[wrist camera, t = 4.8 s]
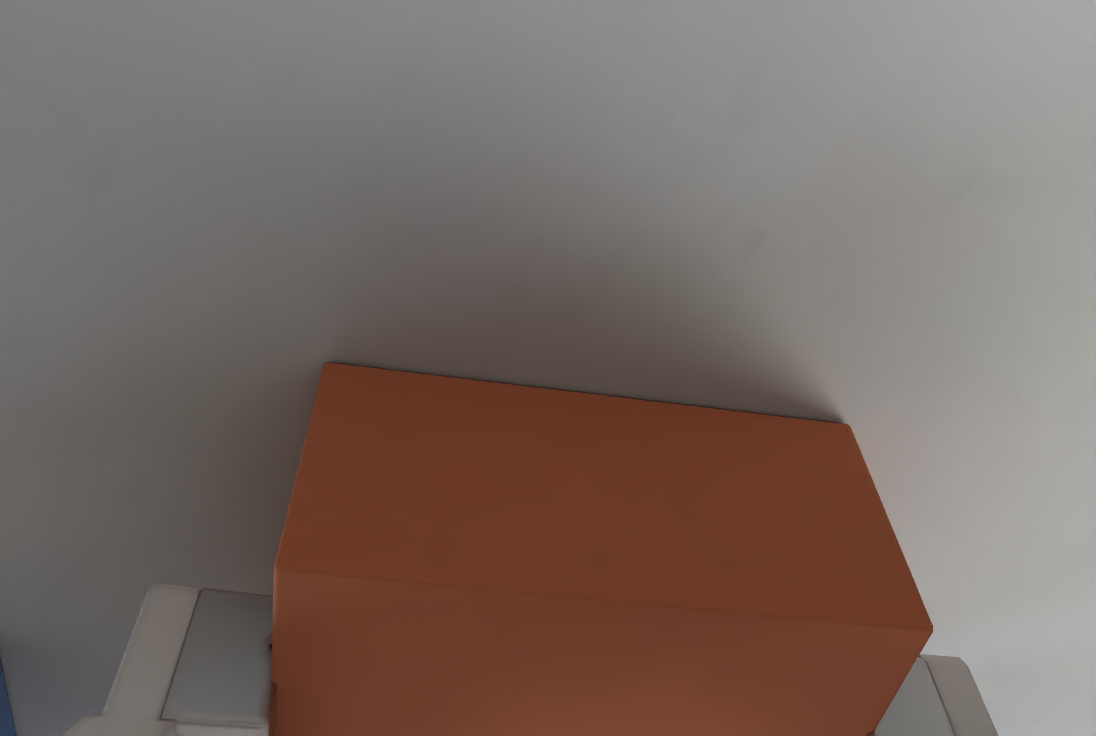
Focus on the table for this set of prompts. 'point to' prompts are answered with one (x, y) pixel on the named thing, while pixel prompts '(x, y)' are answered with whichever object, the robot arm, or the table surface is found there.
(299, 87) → the table surface
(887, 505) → the table surface
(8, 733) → the pad
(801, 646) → the pad
